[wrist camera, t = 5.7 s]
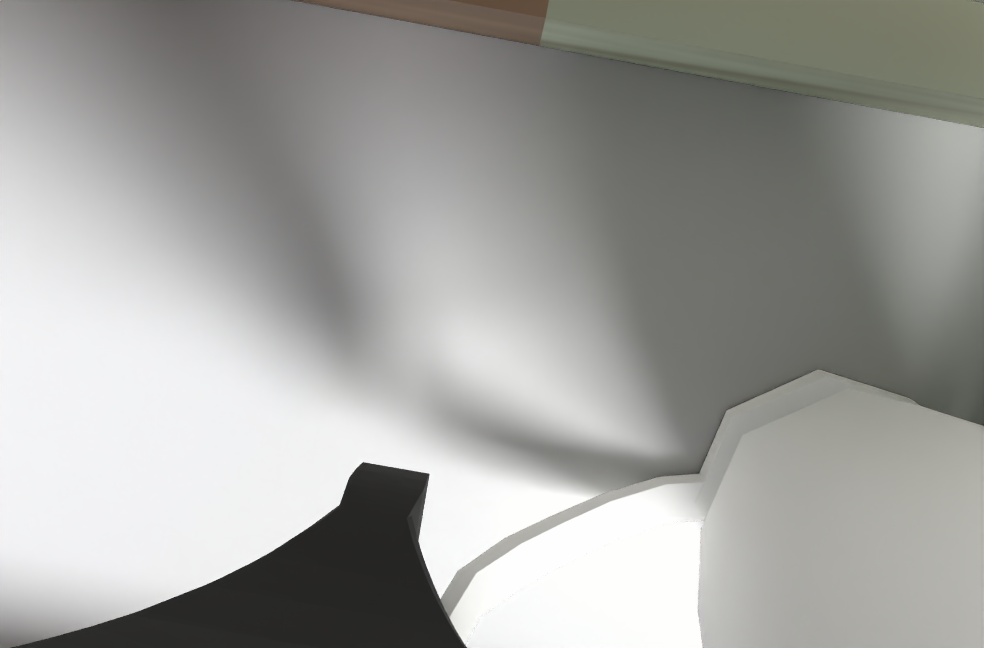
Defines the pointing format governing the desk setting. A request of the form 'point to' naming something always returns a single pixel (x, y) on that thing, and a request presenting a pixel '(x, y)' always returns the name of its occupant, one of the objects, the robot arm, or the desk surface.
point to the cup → (796, 525)
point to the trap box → (752, 42)
